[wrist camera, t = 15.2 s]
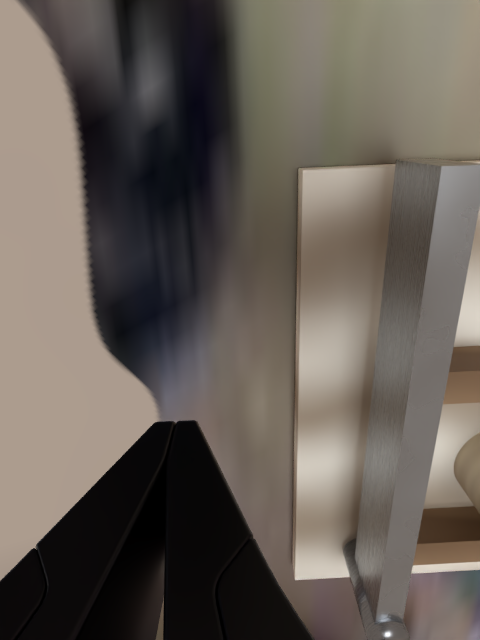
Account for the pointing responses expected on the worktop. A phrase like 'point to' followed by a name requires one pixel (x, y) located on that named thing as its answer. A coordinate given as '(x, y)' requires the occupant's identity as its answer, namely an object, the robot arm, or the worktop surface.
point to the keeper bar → (410, 377)
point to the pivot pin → (469, 469)
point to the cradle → (366, 377)
